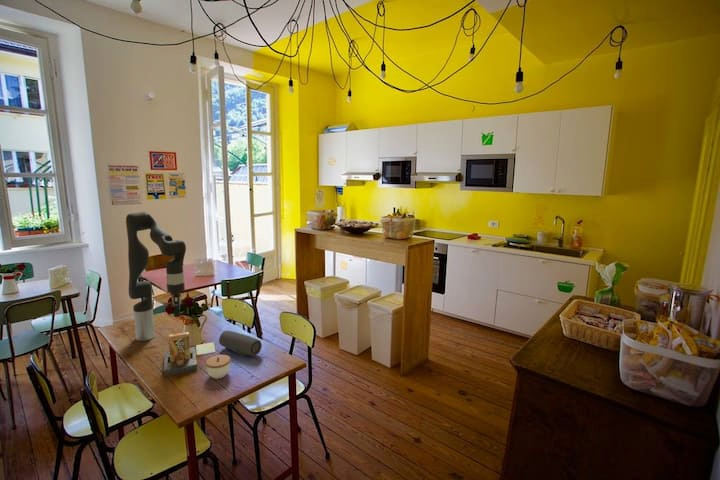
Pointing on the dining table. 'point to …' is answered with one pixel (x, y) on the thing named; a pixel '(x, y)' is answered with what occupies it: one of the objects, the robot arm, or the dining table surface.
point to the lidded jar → (218, 366)
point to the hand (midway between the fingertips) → (177, 313)
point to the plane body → (180, 364)
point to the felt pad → (205, 348)
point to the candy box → (179, 346)
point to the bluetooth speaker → (240, 343)
